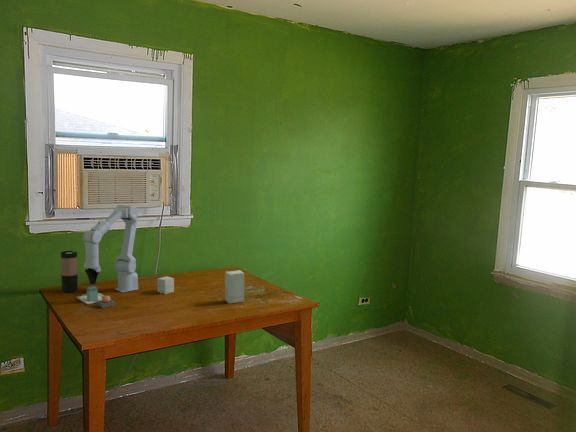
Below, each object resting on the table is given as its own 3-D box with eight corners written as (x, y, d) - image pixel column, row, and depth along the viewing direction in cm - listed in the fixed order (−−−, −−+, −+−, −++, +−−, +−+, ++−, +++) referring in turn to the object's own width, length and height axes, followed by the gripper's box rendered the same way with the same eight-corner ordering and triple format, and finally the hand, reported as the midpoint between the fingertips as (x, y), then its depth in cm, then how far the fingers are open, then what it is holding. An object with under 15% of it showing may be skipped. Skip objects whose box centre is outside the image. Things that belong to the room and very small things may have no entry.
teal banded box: (94, 298, 235) (94, 286, 234) (97, 299, 233) (97, 287, 232) (87, 299, 232) (86, 287, 232) (90, 301, 230) (90, 289, 229)
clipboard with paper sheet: (99, 293, 245) (99, 291, 245) (112, 300, 235) (112, 298, 235) (74, 297, 236) (74, 295, 236) (87, 305, 226) (87, 303, 226)
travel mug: (62, 293, 243) (60, 254, 240) (61, 289, 250) (60, 251, 247) (78, 291, 246) (77, 253, 244) (77, 288, 253) (76, 250, 251)
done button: (108, 301, 228) (107, 295, 228) (111, 303, 226) (111, 296, 226) (100, 302, 226) (100, 296, 226) (104, 304, 223) (103, 298, 223)
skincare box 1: (166, 289, 255) (166, 275, 254) (174, 291, 252) (174, 277, 251) (157, 292, 250) (157, 278, 249) (165, 294, 247) (165, 280, 246)
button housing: (109, 302, 230) (109, 298, 230) (115, 305, 226) (115, 301, 226) (96, 305, 226) (96, 301, 226) (102, 308, 222) (102, 304, 222)
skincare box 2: (240, 298, 243) (240, 269, 241) (244, 302, 238) (245, 272, 236) (224, 300, 240) (224, 271, 238) (228, 304, 234) (228, 273, 232)
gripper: (77, 254, 232) (78, 282, 234) (90, 259, 222) (90, 288, 224) (92, 252, 237) (92, 279, 239) (105, 257, 227) (105, 286, 228)
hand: (92, 283), depth 231 cm, fingers closed
